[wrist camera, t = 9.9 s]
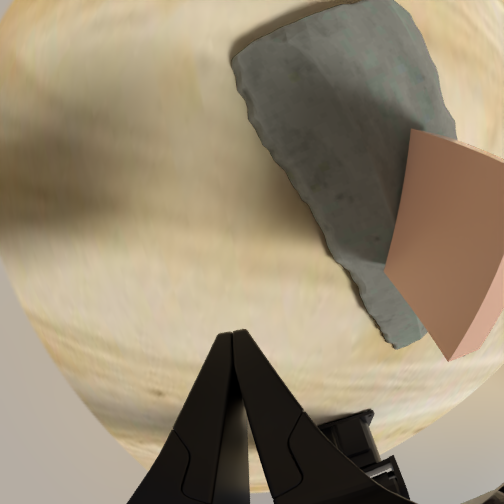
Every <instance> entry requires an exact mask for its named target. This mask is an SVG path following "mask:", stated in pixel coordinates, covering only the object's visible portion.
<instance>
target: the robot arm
mask: <svg viewBox="0 0 504 504" xmlns="http://www.w3.org/2000/svg"><path fill="white" fill-rule="evenodd" d="M373 416H374V411H373V410H371V411H368V412H365V413H362V414H359V415H356V416H352V417H349V418H346V419H343V420H339V421H336V422H332V423H329V424H325V425H321V426H318V427H317V426H316V425H315V423H314V422H313V421H312V420H311V418H310V417H309V416H308V414H307V413H306V412H305V411H304V409H303V408H302V407H301V405H300V404H299V403H298V401H297V400H296V399H295V397H294V396H293V394H292V393H291V392H290V390H289V389H288V388H287V386H286V385H285V383H284V382H283V381H282V379H281V378H280V377H279V375H278V374H277V372H276V371H275V369H274V368H273V367H272V365H271V364H270V362H269V361H268V360H267V358H266V357H265V355H264V354H263V352H262V351H261V350H260V348H259V347H258V345H257V344H256V342H255V341H254V339H253V338H252V336H251V335H250V334H249V332H248V331H247V330H246V329H241V330H236V331H233V333H232V332H224V333H219V334H218V335H217V337H216V339H215V341H214V343H213V345H212V347H211V349H210V351H209V354H208V356H207V358H206V360H205V362H204V364H203V366H202V368H201V370H200V372H199V374H198V376H197V379H196V381H195V383H194V385H193V387H192V389H191V391H190V393H189V395H188V397H187V399H186V401H185V403H184V406H183V408H182V410H181V412H180V414H179V416H178V418H177V420H176V422H175V424H174V426H173V429H174V430H171V432H170V434H169V436H168V438H167V440H166V442H165V444H164V446H163V448H162V450H161V452H160V454H159V456H158V457H157V459H156V460H155V462H154V464H153V465H152V467H151V468H150V470H149V472H148V473H147V475H146V476H145V477H144V479H143V481H142V482H141V484H140V485H139V486H138V488H137V489H136V491H135V492H134V494H133V496H132V497H131V498H130V500H129V501H128V502H127V504H250V489H249V463H248V436H247V417H248V420H249V424H250V427H251V431H252V434H253V438H254V441H255V445H256V448H257V451H258V455H259V458H260V461H261V464H262V468H263V471H264V474H265V477H266V480H267V483H268V487H269V490H270V493H271V496H272V498H273V499H274V500H273V502H274V504H417V503H415V502H413V501H410V498H409V494H408V491H407V488H406V485H405V483H404V480H403V478H402V475H401V472H400V470H399V467H398V465H397V462H396V460H395V458H394V455H392V456H390V457H389V458H387V459H385V460H383V461H381V458H380V456H379V453H378V450H377V447H376V445H375V442H374V439H373V436H372V434H371V431H370V428H369V425H370V423H371V421H372V418H373ZM389 468H392V471H390V472H388V473H387V472H385V473H382V474H380V475H377V476H375V477H373V478H370V476H372V475H375V474H378V473H380V472H382V471H385V470H387V469H389ZM462 504H504V483H503V484H502V485H500V486H499V487H498V488H497V489H495V490H493V491H490V492H488V493H486V494H483V495H481V496H479V497H477V498H474V499H472V500H469V501H467V502H464V503H462Z"/></svg>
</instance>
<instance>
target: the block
mask: <svg viewBox="0 0 504 504" xmlns="http://www.w3.org/2000/svg"><path fill="white" fill-rule="evenodd" d="M384 273H385V274H386V275H387V277H388V278H389V279H390V281H391V282H392V283H393V284H394V286H395V287H396V288H397V290H398V291H399V292H400V294H401V295H402V296H403V298H404V299H405V300H406V302H407V303H408V304H409V306H410V307H411V308H412V310H413V311H414V313H415V314H416V315H417V317H418V318H419V320H420V321H421V322H422V324H423V325H424V327H425V328H426V329H427V331H428V332H429V334H430V335H431V337H432V338H433V340H434V341H435V343H436V344H437V346H438V347H439V349H440V350H441V352H442V353H443V355H444V356H445V358H446V359H447V361H448V362H449V361H452V360H454V359H457V358H459V357H462V356H464V355H466V354H469V353H471V352H473V351H476V350H478V349H480V347H481V346H482V344H483V342H484V341H485V339H486V338H487V336H488V334H489V333H490V331H491V329H492V328H493V326H494V324H495V323H496V321H497V319H498V317H499V316H500V314H501V312H502V310H503V308H504V159H502V158H500V157H498V156H496V155H493V154H491V153H489V152H486V151H484V150H481V149H479V148H476V147H474V146H471V145H469V144H466V143H463V142H461V141H458V140H455V139H452V138H449V137H446V136H443V135H439V134H435V133H430V132H426V131H421V130H416V129H411V132H410V141H409V150H408V157H407V164H406V171H405V177H404V183H403V189H402V195H401V200H400V205H399V210H398V215H397V219H396V224H395V229H394V233H393V237H392V241H391V245H390V249H389V253H388V257H387V261H386V265H385V268H384Z"/></svg>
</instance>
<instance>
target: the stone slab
mask: <svg viewBox="0 0 504 504" xmlns="http://www.w3.org/2000/svg"><path fill="white" fill-rule="evenodd" d="M232 70H233V72H234V74H235V76H236V83H237V91H238V92H239V94H240V95H241V96H242V97H243V98H244V100H245V101H246V104H247V107H248V120H249V122H250V123H251V124H252V125H253V127H254V128H255V129H256V132H257V134H258V136H259V138H260V140H261V142H262V145H263V146H264V147H266V148H267V149H268V150H269V151H270V154H271V156H272V157H273V159H274V161H275V162H276V163H277V164H278V165H279V166H281V167H282V168H283V169H284V170H285V171H286V173H287V175H288V178H289V180H290V181H291V183H292V185H293V187H294V188H295V189H296V190H297V191H298V192H299V195H300V197H301V199H302V200H303V201H304V202H306V203H307V204H308V205H309V207H310V209H311V211H312V213H313V216H314V218H315V220H316V221H317V223H318V224H319V226H320V228H321V229H322V231H323V233H324V235H325V239H326V242H327V245H328V248H329V250H330V252H331V253H332V255H333V258H334V260H335V261H336V262H338V263H340V264H341V265H342V266H343V267H344V268H345V269H347V270H348V271H349V272H350V274H351V277H352V279H353V281H354V282H355V283H356V284H357V285H358V287H359V294H360V297H361V298H362V300H363V303H364V305H365V307H366V309H367V311H368V313H369V314H370V315H372V317H373V318H374V319H375V320H376V322H377V324H378V325H379V326H380V331H381V332H383V334H384V338H385V339H386V340H387V343H392V344H393V345H394V349H399V348H402V347H405V346H408V345H410V344H411V343H413V342H415V341H417V340H420V339H421V338H422V337H423V336H424V335H425V334H426V333H427V332H428V331H427V329H426V328H425V327H424V325H423V324H422V322H421V321H420V320H419V318H418V317H417V315H416V314H415V313H414V311H413V310H412V308H411V307H410V306H409V304H408V303H407V302H406V300H405V299H404V298H403V296H402V295H401V294H400V292H399V291H398V290H397V288H396V287H395V286H394V284H393V283H392V282H391V281H390V279H389V278H388V277H387V275H386V274H385V273H384V268H385V265H386V261H387V257H388V253H389V249H390V245H391V241H392V237H393V233H394V229H395V224H396V219H397V215H398V210H399V205H400V200H401V195H402V189H403V183H404V177H405V171H406V164H407V157H408V150H409V141H410V132H411V129H416V130H421V131H426V132H430V133H435V134H439V135H443V136H446V137H449V138H452V139H455V140H457V136H456V130H455V120H454V119H453V118H452V116H451V115H450V113H449V111H448V110H447V108H446V107H445V104H444V100H443V97H442V93H441V88H440V83H439V76H438V72H437V69H436V66H435V64H434V63H433V61H432V59H431V57H430V55H429V52H428V50H427V47H426V44H425V41H424V39H423V36H422V34H421V32H420V31H419V29H418V28H417V27H416V25H415V23H414V21H413V19H412V16H411V15H410V13H409V12H407V11H406V10H405V9H404V8H403V7H402V6H400V5H399V4H398V3H397V2H395V1H394V0H362V1H359V2H356V3H353V4H341V5H338V6H335V7H332V8H329V9H326V10H324V11H322V12H318V13H315V14H312V15H310V16H307V17H305V18H302V19H300V20H299V21H296V22H294V23H292V24H289V25H286V26H283V27H281V28H279V29H277V30H275V31H274V32H272V33H270V34H268V35H266V36H263V37H261V38H259V39H256V40H255V41H253V42H251V43H250V44H249V45H248V46H247V47H246V48H244V49H243V50H242V51H241V52H239V53H238V54H237V55H236V56H235V57H234V58H233V59H232Z"/></svg>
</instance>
